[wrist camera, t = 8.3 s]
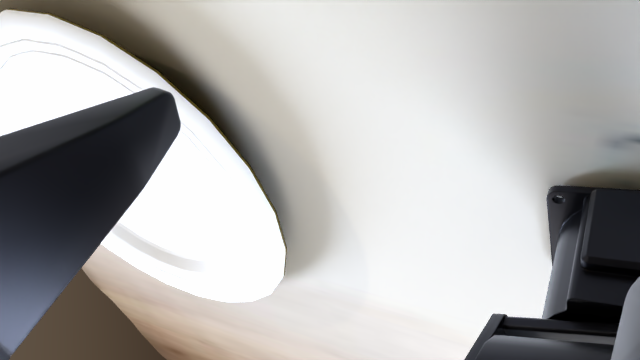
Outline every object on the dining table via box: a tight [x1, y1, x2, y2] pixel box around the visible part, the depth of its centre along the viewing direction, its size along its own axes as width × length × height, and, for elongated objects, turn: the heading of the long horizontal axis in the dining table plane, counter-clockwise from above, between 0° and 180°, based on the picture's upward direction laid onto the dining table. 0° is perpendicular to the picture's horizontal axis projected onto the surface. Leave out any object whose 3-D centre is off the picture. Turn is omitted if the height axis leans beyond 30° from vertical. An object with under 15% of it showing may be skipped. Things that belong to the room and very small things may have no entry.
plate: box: [0, 9, 287, 302], centre depth 40 cm, size 29×29×2 cm
